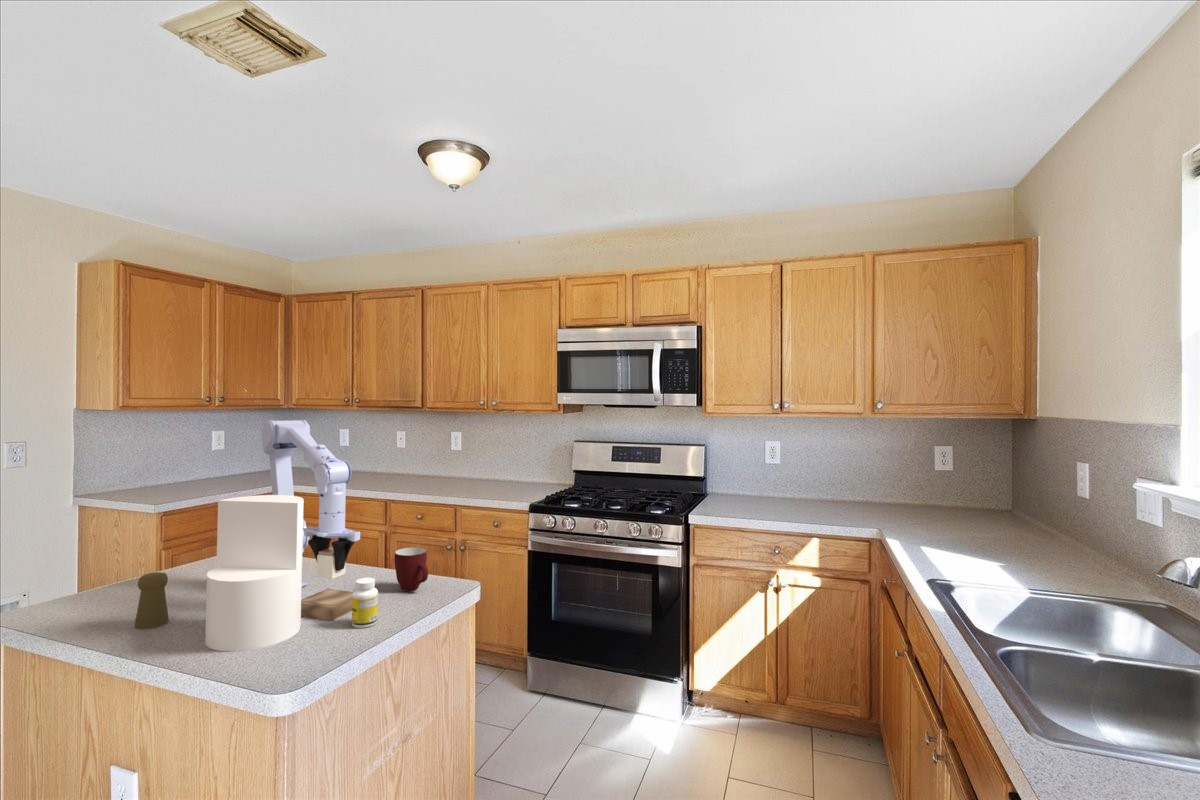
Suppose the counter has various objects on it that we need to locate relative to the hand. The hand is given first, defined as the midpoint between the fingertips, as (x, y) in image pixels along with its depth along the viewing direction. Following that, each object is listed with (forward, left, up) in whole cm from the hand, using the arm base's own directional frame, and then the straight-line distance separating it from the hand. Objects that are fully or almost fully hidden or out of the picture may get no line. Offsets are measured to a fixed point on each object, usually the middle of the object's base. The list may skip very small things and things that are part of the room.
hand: (331, 568), depth 135 cm
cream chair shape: (-4, -17, -10) cm, 20 cm away
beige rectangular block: (0, 0, -2) cm, 2 cm away
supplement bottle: (+14, -5, -10) cm, 18 cm away
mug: (+11, +18, -10) cm, 23 cm away
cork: (-29, -20, -10) cm, 37 cm away
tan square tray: (+1, -1, -10) cm, 10 cm away
